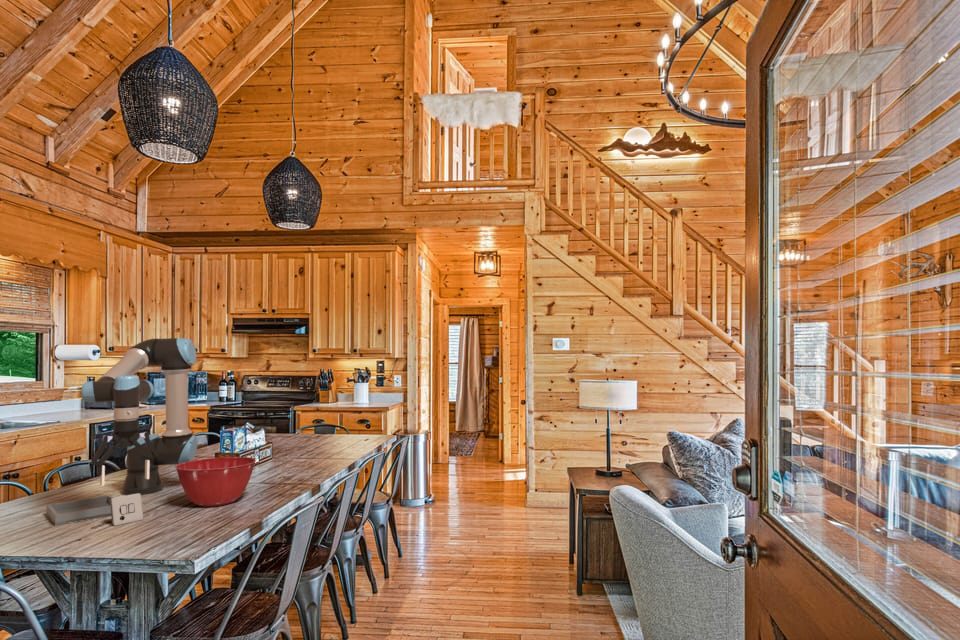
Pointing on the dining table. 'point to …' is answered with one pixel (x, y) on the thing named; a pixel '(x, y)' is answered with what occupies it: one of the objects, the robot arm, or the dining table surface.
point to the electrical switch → (126, 509)
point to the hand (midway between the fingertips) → (125, 481)
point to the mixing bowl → (215, 479)
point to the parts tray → (80, 510)
